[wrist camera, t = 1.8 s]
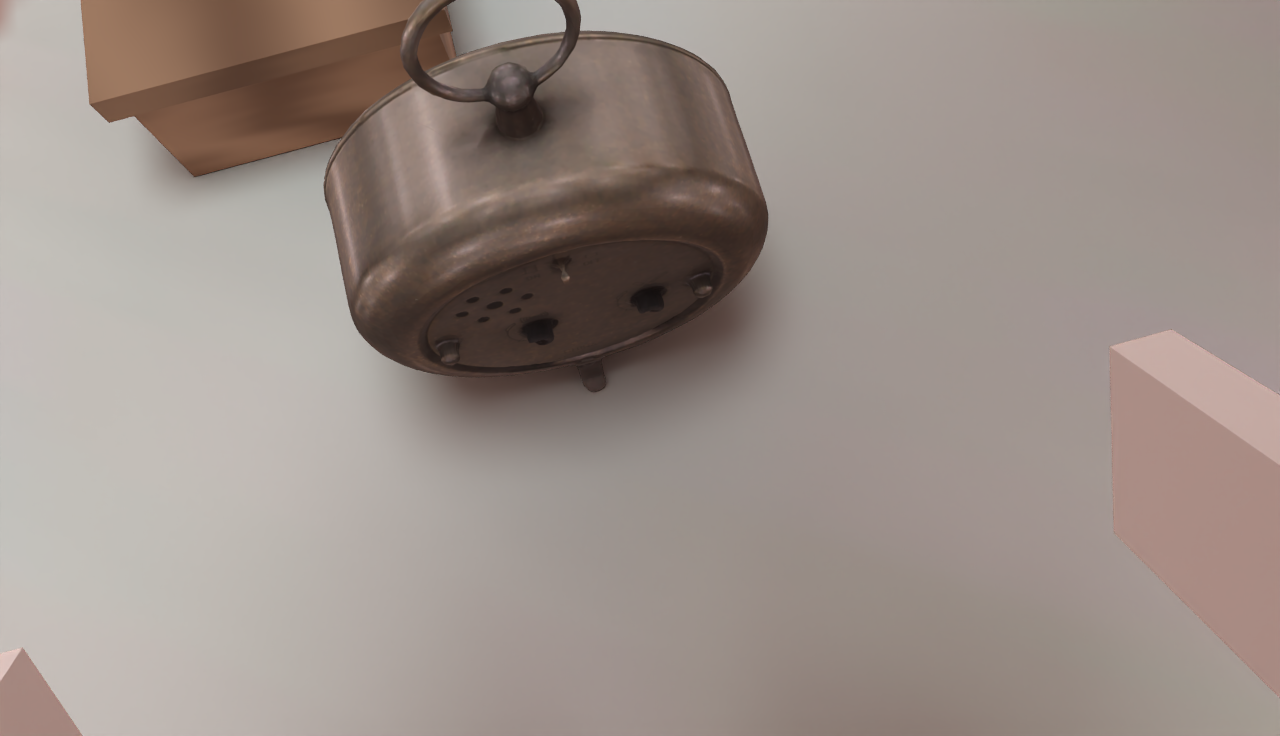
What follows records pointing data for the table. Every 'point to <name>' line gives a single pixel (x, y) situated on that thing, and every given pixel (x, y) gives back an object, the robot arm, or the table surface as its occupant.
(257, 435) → the table surface
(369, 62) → the walnut stand
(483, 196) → the alarm clock
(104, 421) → the table surface
